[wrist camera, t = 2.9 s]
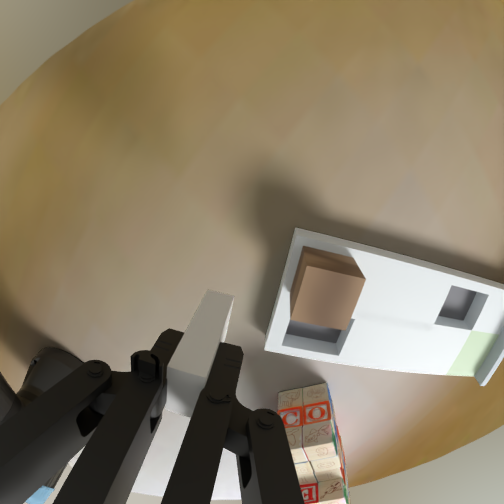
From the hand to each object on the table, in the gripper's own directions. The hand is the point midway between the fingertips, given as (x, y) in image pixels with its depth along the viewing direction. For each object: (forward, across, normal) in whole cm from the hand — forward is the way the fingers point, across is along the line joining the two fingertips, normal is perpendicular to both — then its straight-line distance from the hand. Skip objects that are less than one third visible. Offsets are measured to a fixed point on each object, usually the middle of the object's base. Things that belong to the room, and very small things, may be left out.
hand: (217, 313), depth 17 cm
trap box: (+12, +18, -3) cm, 23 cm away
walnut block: (+10, +7, 0) cm, 12 cm away
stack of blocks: (+13, +15, -25) cm, 32 cm away
